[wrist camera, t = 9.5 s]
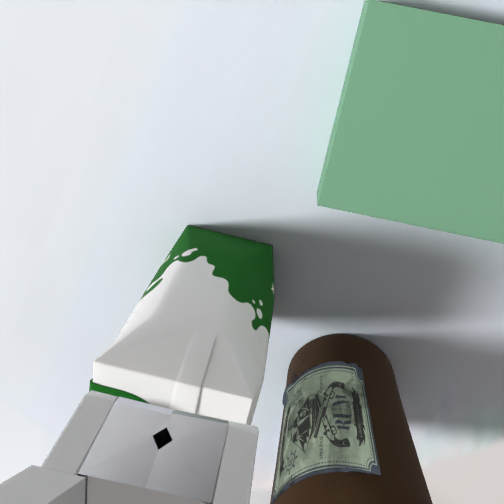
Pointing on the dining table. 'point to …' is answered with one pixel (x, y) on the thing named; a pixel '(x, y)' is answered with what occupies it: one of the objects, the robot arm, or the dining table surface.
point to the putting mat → (421, 123)
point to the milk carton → (197, 330)
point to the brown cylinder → (345, 430)
